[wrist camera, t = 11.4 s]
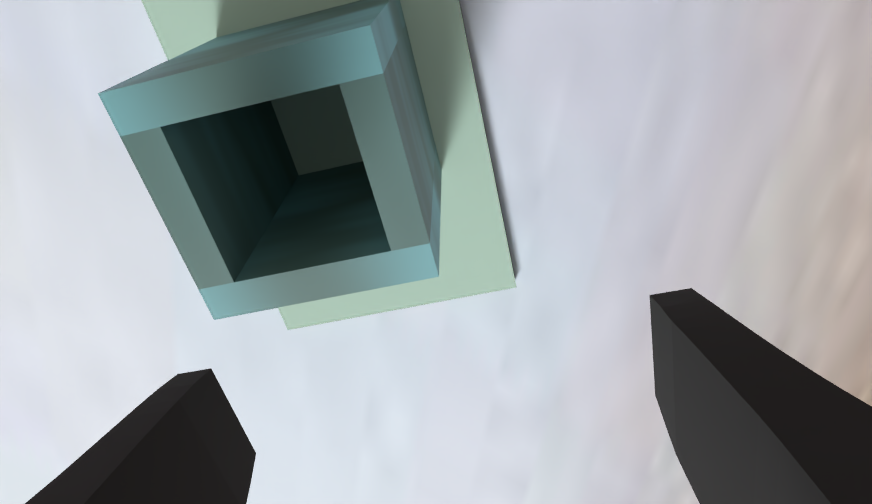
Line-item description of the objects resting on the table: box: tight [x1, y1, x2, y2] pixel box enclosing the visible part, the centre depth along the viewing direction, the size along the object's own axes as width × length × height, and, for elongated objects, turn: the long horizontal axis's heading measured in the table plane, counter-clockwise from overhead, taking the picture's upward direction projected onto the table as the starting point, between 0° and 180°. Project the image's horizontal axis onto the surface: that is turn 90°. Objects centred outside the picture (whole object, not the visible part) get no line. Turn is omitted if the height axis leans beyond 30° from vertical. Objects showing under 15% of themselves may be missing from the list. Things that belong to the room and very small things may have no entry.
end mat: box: [142, 0, 516, 330], centre depth 17 cm, size 8×14×1 cm, turn 13°
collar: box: [98, 0, 442, 320], centre depth 14 cm, size 5×5×6 cm
